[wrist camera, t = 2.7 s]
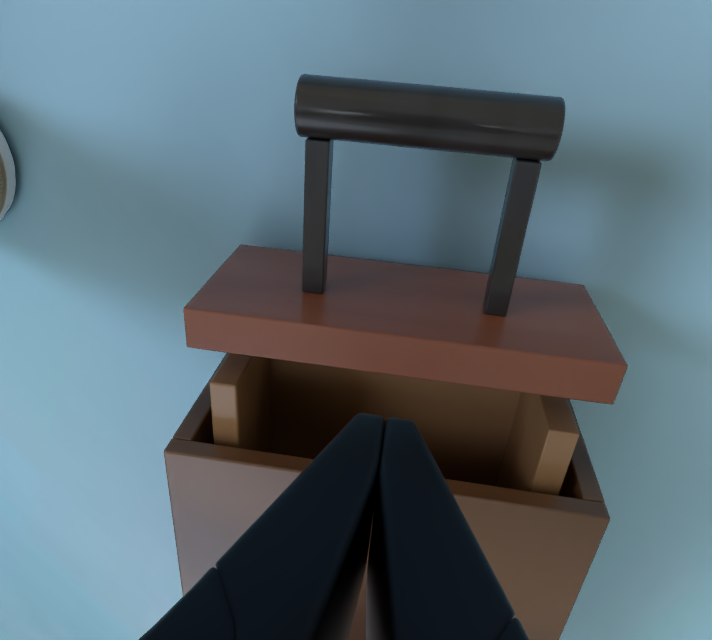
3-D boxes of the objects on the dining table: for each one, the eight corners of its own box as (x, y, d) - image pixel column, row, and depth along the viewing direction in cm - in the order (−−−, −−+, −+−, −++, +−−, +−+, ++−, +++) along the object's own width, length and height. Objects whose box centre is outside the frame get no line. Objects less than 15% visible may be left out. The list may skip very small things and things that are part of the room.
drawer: (233, 58, 15) (159, 71, 11) (641, 94, 14) (720, 122, 10) (248, 492, 23) (209, 589, 19) (509, 532, 22) (524, 643, 18)
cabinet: (235, 338, 21) (162, 451, 15) (564, 382, 20) (611, 519, 14) (244, 553, 27) (194, 688, 21) (497, 595, 26) (513, 748, 20)
